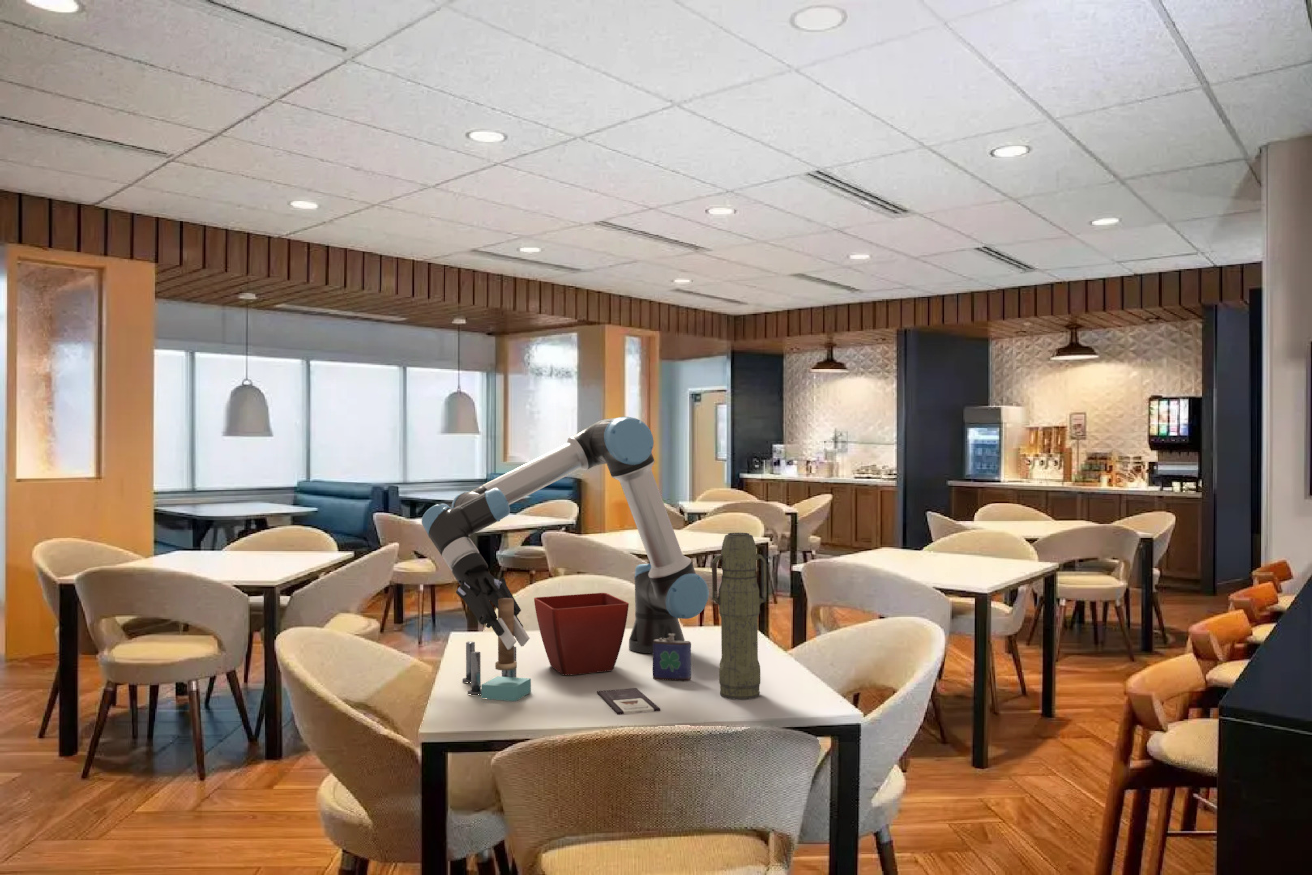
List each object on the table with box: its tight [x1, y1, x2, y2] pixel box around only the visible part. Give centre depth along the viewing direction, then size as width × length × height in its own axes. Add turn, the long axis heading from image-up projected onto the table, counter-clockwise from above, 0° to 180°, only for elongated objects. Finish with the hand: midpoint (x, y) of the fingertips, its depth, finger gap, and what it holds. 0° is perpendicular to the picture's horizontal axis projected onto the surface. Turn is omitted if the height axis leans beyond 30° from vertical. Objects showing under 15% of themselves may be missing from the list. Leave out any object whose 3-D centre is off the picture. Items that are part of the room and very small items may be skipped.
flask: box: [652, 633, 692, 682], centre depth 221 cm, size 9×3×11 cm, turn 74°
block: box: [480, 675, 532, 702], centre depth 207 cm, size 8×8×3 cm
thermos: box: [711, 532, 768, 701], centre depth 207 cm, size 9×12×35 cm
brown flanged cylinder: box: [494, 598, 518, 671], centre depth 207 cm, size 5×5×15 cm
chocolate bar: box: [596, 687, 661, 716], centre depth 201 cm, size 9×1×18 cm
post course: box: [462, 641, 517, 696], centre depth 213 cm, size 15×14×9 cm
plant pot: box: [533, 592, 630, 676], centre depth 232 cm, size 19×19×17 cm
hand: (518, 643), depth 205 cm, fingers closed on brown flanged cylinder, 3 cm apart
